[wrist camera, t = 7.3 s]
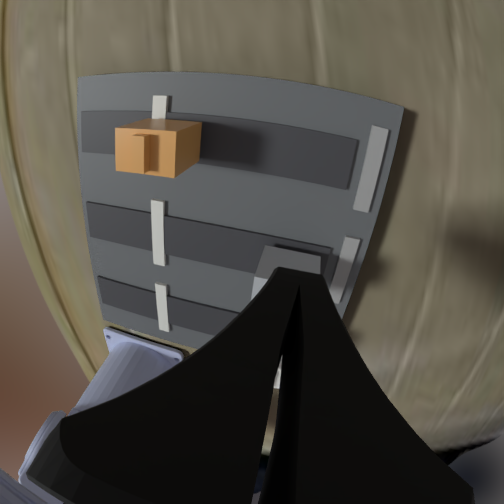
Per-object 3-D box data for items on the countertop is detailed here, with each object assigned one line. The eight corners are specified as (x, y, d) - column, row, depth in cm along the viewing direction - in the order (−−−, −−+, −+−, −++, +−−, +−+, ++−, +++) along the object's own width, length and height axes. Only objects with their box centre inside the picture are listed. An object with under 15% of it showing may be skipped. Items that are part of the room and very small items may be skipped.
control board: (318, 363, 23) (317, 377, 22) (110, 310, 25) (102, 321, 24) (398, 105, 13) (405, 107, 12) (89, 76, 15) (75, 77, 14)
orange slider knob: (199, 161, 15) (169, 182, 12) (146, 154, 16) (109, 174, 13) (202, 122, 14) (171, 133, 11) (147, 118, 15) (108, 129, 12)
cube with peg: (312, 286, 18) (309, 328, 15) (260, 275, 18) (247, 316, 15) (320, 256, 17) (319, 297, 14) (265, 245, 17) (252, 282, 14)
